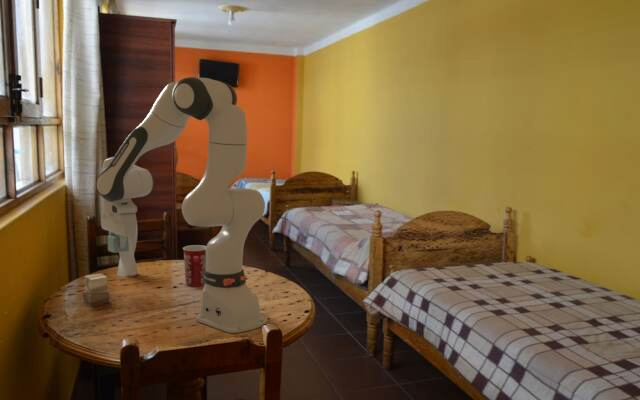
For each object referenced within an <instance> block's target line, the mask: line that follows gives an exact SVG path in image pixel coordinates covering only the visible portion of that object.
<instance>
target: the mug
mask: <svg viewBox="0 0 640 400" xmlns="http://www.w3.org/2000/svg"><path fill="white" fill-rule="evenodd" d="M206 246H207V245H200V244H197V245H196V244H194V245H193V244H192V245H186V246H184V247H182V251H183V261H184V262H183V263H184V278H185V285H186V286H188V287H201V286H204V285H205V282H204V270H205V269H206Z"/></svg>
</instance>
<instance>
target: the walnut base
mask: <svg viewBox="0 0 640 400" xmlns="http://www.w3.org/2000/svg"><path fill="white" fill-rule="evenodd" d="M82 300H83V301H85V302H86V303H87V304H89V305H94V306H96V305H95V304H98V305H101V304H100V303H103V304H105V303H104V302H108V303H110V302H109V301H111V299H110V292H109V291H108V290H107V292H106V293H101V294H96V295H90V294H88V293H87V292H86V291H85V290H83V291H82Z"/></svg>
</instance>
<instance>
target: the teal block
mask: <svg viewBox="0 0 640 400" xmlns="http://www.w3.org/2000/svg"><path fill="white" fill-rule="evenodd" d="M119 242H120V237H119V235H111V236H109V235H107V251H108V252H110V253H113V254H114V253H115V254H116V253H119V252H124V251H129V243H128V237H127V240H126V247H125V248H120V247H119Z"/></svg>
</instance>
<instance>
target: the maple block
mask: <svg viewBox="0 0 640 400" xmlns="http://www.w3.org/2000/svg"><path fill="white" fill-rule="evenodd" d="M84 291H86V292H87V293H88V294H90V295H96V294H101V293H106V292H107V291H108V277H107V276H106V275H104V274H103V273H102V272H101V273H95V274H90V275H85V276H84Z"/></svg>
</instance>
